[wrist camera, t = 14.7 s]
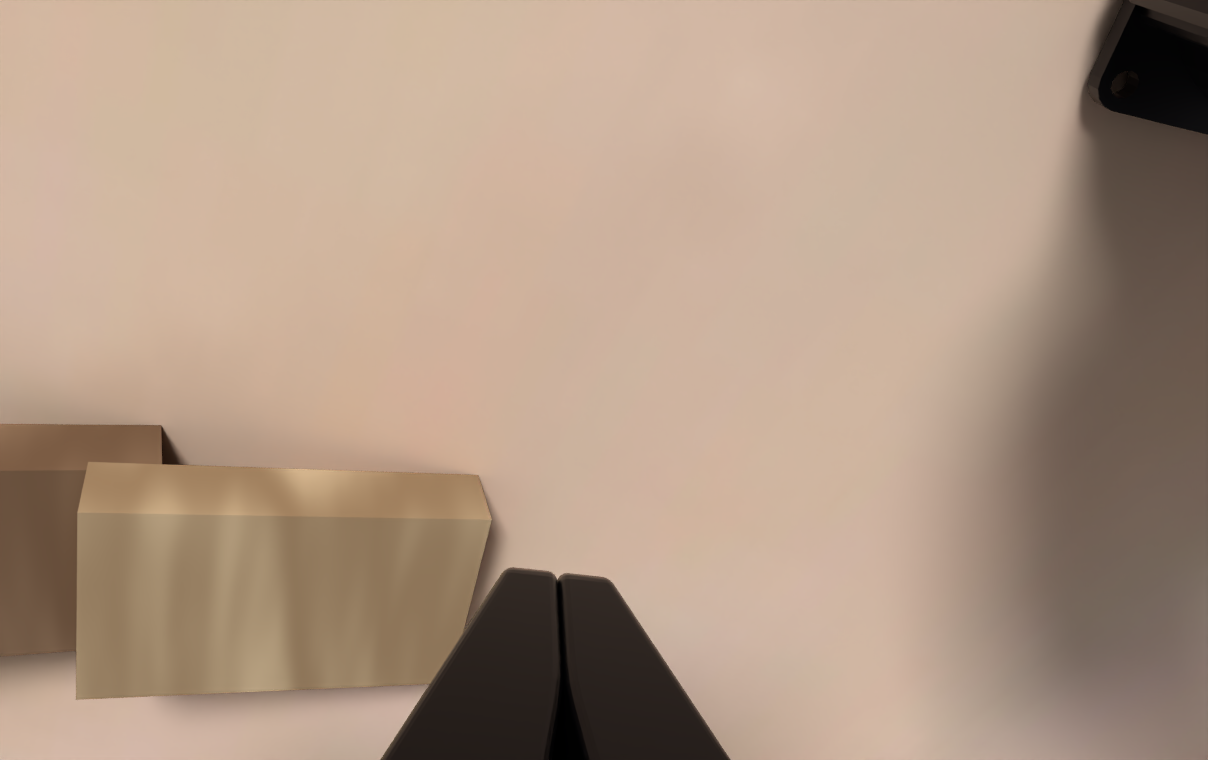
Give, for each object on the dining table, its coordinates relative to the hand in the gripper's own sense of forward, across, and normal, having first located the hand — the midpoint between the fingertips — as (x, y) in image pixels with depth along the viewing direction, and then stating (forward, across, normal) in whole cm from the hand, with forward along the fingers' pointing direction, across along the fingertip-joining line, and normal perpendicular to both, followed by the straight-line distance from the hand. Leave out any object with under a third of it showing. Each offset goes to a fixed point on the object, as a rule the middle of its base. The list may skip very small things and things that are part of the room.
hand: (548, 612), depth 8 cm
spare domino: (+12, 0, +10) cm, 16 cm away
